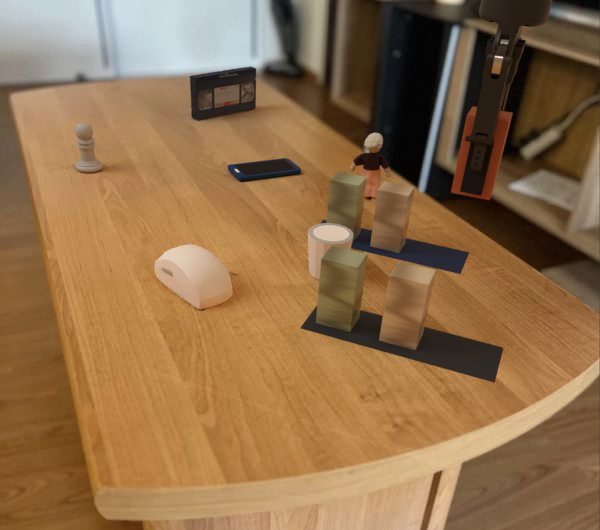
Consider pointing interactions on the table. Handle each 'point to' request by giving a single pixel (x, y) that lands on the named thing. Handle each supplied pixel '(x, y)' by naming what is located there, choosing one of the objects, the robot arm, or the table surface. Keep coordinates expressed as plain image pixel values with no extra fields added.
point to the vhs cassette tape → (223, 92)
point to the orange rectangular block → (494, 160)
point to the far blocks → (388, 209)
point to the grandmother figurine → (372, 165)
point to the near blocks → (398, 305)
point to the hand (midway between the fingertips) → (473, 185)
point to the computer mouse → (194, 275)
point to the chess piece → (86, 149)
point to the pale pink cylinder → (326, 243)
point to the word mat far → (416, 253)
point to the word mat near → (421, 346)
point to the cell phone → (263, 169)
